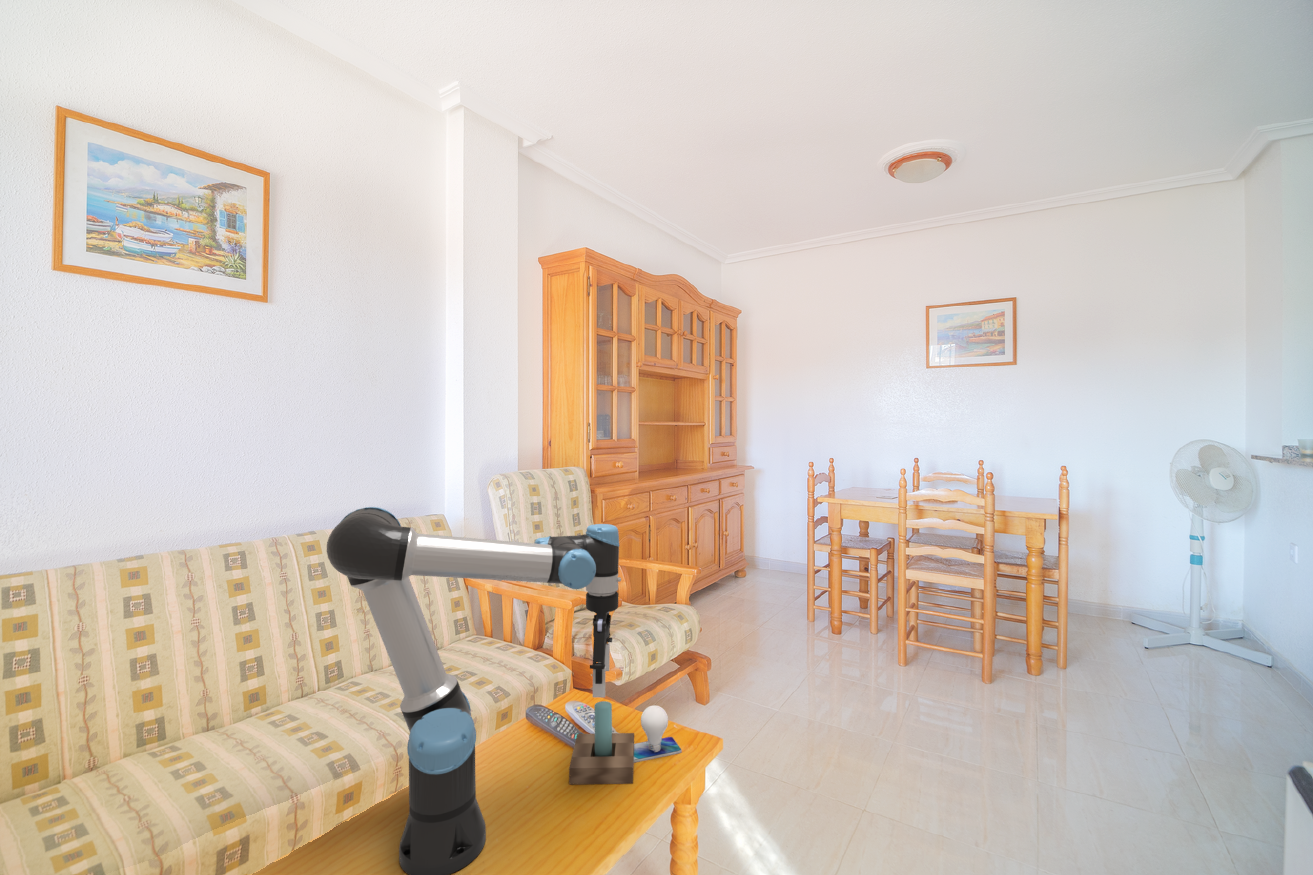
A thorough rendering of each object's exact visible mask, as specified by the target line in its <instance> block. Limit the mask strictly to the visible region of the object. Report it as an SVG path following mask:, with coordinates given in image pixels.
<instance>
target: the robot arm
mask: <svg viewBox="0 0 1313 875" xmlns="http://www.w3.org/2000/svg"><path fill="white" fill-rule="evenodd" d="M619 534H620V533H619V529H618V527H617V526H616V525H613V524H610V523H595V524H590V525H588V526H587V527H586V531H585V534H584V533H583V534H580V535H562V536H560V535H558V536H551V535H549V536H545V537H538V538H537V539H535V541H534V542H523V541H522V542H521V541H509V540H498V539H497V540H495V539H488V538H487V539H485V538H476V537H475V538H473V537H464V536H463V537H461V536H452V535H451V536H450V535H449V536H448V535H439V534H424V533H418V532H417V531H416V530H415V529H414V528H413V527H409V526H402V525H401V523H400V521H399V519H398V518H397V517H396V516H395V515H394V514H393V513H392V512H391V511H389V510H387V509H385V508H381V507H378V506H369V507H368V506H367V507H361V508H359V509H356V510H354V511H351V512H350V513H348V514H347V515H345V516H344V517H343V518H342V520H341V521H340V522H339V523H338V524H337V525H336V526H334V528H333V530H332V531H331V533H330V534H329V536H328V539H327V542H326V555H327V558H328V560H329V562H330V565H331V566H332V567H333V568H334V569H335V570H336V571H337V572H338V573H341V574H342V575H344V576H345V577H346V578H347V580H348V582H349V584H350V587H352V588H354V589H359V590H360V591H362V593H363V596H364V598H365V600H366V603H367V606H368V608H369V611H370V612H371V613H370V614H371V615H372V618H373V620H374V623H375V625H376V629H377V630H378V633H379V635H380V638H381V641H382V642H383V645H384V646H383V647H385V650H386V653H387V656H388V658H389V661H390V664H391V665H392V668H393V670H394V672H395V675H396V678H397V680H398V683H399V685H400V688H401V690H402V692H403V695H404V696H403V698H402V700H401V702H400V704H399V708H400V711H401V713H402V716H403V719H404V721H405V723H406V726H407V728H408V730H409V734H408V735H409V736H408V741H407V746H406V747H407V748H406V749H407V756H408V798H409V799H408V805H409V808H408V810H409V811H408V812H409V813H408V816H407V820H406V822H405V825H404V830H403V832H402V836H401V837H400V842H399V846H398V849H399V850H398V855H399V856H398V857H399V858H398V859H399V860H398V862H399V865H400V867H401V870H403V871H404V872H405V873H406V874H407V875H452V874H453V873H455V872H457V871H460V870H462V869H464V868H465V867H466V866H468V865H470V863H472V862H473V861H474V860H475V859H476V858H477V857H478V856H479V855H480V853H481V852H482V851H483V848H484V847H485V844H486V840H487V839H486V836H487V835H486V834H487V833H486V832H487V831H486V822H485V819H484V816H483V814H482V810H481V808H480V805H479V803H478V800H477V796H476V787H477V786H476V741H477V732H476V725H475V722H474V719H473V717H472V716H471V715H472V713H471V705H470V702H469V698H468V697H467V696H466V694H465V693H464V692H463V691H462V689H461V688H462V687H461V686H460V684H459V681H458V678H457V677H456V675H453V674H449V673H447V672H446V670H445V667H444V664H443V662H442V659H441V656H440V653H439V652H438V649H437V647H436V644H435V641H434V638H433V636H432V634H431V630H430V629H429V625H428V623H427V621H426V617H425V615H424V613H423V610H422V607H421V605H420V603H419V601H418V600H419V599H418V597H417V594H416V592H415V590H414V587H413V585H412V582H411V580H410V577H411V576H419V577H420V576H421V577H434V578H435V577H436V578H438V577H439V578H454V579H455V578H457V579H473V580H474V579H475V580H493V581H509V582H526V583H527V582H528V583H529V582H530V583H531V582H532V583H546V584H559V585H560V584H561V585H562V586H564V587H567V588H569V589H572V590H580V589H584V588H585V591H586V592H587V593H586V594H585V608H586V610H587V611H588V612H590V613H591V612H592V613H595V614H593V618H592V627H593V629H592V630H593V632H592V634H593V635H592V636H593V648H592V664H589V669H590V670H592V698H606V672H610V656H611V655H610V652H611V650H610V646H611V644H610V643H613V637H610V636H611V630H610V628H611V622H612V615H611V614H610V613H611V612H614V611H616V610H617V609H618V608H619V593H618V592H617V591H618V590H619V582H621V581H622V578H621V577H619V565H620V564H619V558H620V537H619Z"/></svg>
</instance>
